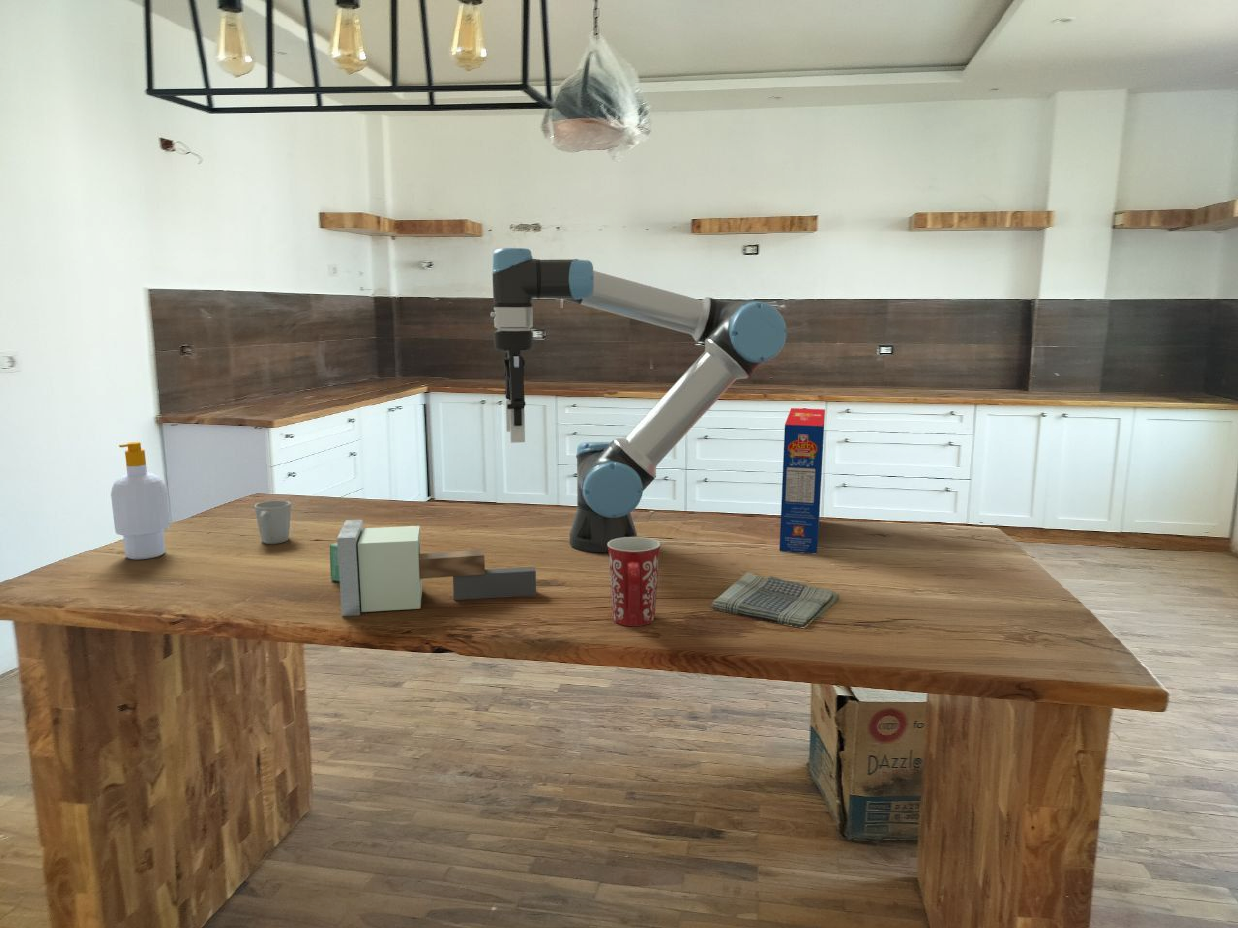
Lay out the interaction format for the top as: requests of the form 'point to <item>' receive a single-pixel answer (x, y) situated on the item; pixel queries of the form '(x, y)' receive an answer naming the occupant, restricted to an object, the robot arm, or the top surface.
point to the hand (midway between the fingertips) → (515, 436)
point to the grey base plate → (349, 567)
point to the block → (390, 568)
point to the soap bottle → (140, 507)
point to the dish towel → (775, 600)
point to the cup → (273, 520)
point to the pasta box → (802, 480)
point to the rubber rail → (496, 584)
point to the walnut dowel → (451, 564)
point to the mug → (633, 579)
